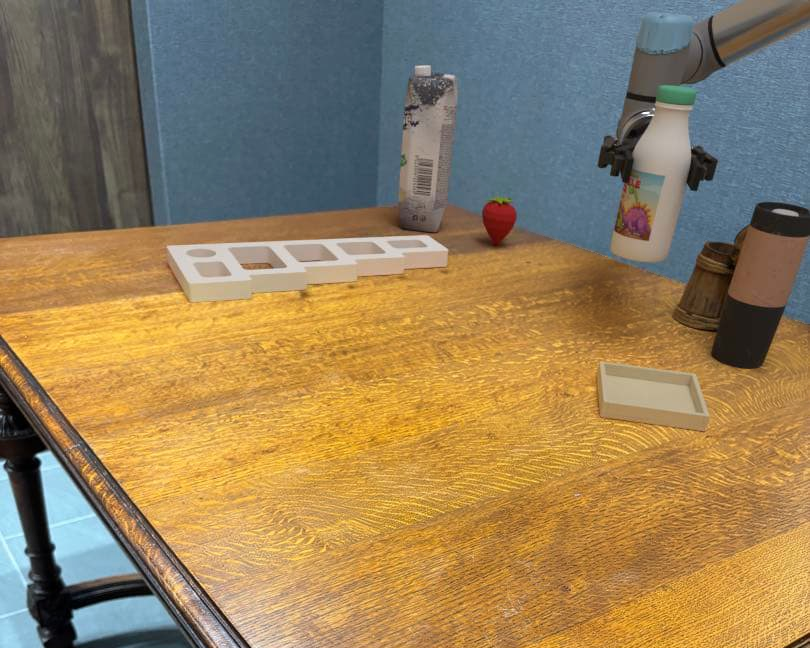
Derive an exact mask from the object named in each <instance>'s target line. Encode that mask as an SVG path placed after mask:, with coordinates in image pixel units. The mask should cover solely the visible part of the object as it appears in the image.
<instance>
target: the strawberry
mask: <svg viewBox="0 0 810 648" xmlns="http://www.w3.org/2000/svg"><path fill="white" fill-rule="evenodd" d="M497 189H498V191H499V193H500V194H502V192H501V190H500V187H498V188H497ZM484 200H485V201H488V202H486V203H485V204H484V205H483V208H482V210H481V218H482V223H483V225H484V229H485V230H486V233H487V235H488V236H489V239H490V240H491V243H492V245H495V246H499V245H500V244H501V243H502V241H504V239H506V237H508V236H509V234H510V232H511V231H512V230H513V228H514V226H515V224H516V221H517V217H518V215H517V210H516V208H515V207H514V205H512V204H511V203H514V200H512V197H506V198H504V197H502V195H500V196H498V195H496V196H495V197H492V198H485V199H484Z"/></svg>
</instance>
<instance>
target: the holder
mask: <svg viewBox="0 0 810 648" xmlns="http://www.w3.org/2000/svg"><path fill="white" fill-rule="evenodd" d="M449 251H450V250H449V249H448V248H447V247H445V246H444V245H442V244H441V243H440V242H438V241H437V240H435V239H434V238H433V237H431V236H429V235H427V234H420V235H419V234H418V235H397V236H395V235H393V236H371V237H369V236H368V237H348V238H347V237H345V238H324V239H323V238H322V239H300V240H298V239H297V240H295V239H294V240H275V241H274V240H273V241H251V242H250V241H249V242H248V241H246V242H226V243H225V242H224V243H222V242H221V243H200V244H176V245H175V244H173V245H166V255H167V265H168V266H169V268H170V270H171V272H172V273H173V275H174V277H175V278H176V280H177V282H178V283H179V285H180V287H181V289H182V291H183V292H184V294H185V296H186V298H187V299H188V301H189V302H190V303H206V302H222V301H236V300H237V301H238V300H250V299H253V294H260V293H261V294H263V293H274V292H276V293H277V292H289V291H290V292H291V291H306V290H307V289H308V285H322V284H337V283H353V282H357V281H358V277H371V276H387V275H390V276H391V275H404V272H405V270H411V269H412V270H413V269H414V270H415V269H428V268H429V269H430V268H431V269H432V268H446V267H448V260H449ZM250 264H251V265H252V264H269V265H270V266H271V267H272V268H260V269H259V268H258V269H257V268H256V269H246V268H244V267H243V266H242V265H250Z"/></svg>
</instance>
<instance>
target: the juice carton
mask: <svg viewBox="0 0 810 648" xmlns="http://www.w3.org/2000/svg"><path fill="white" fill-rule="evenodd" d="M406 87H407V88H406V93H405V99H404V108H403V109H404V111H403V122H402V123H403V125H402V138H401V139H402V140H401V153H400V154H401V155H400V166H399V167H400V170H399V183H398V198H397V199H398V201H397V213H398V221H399V228H400V229H401V230H402V229H403V230H408V231H409V230H410V231H417V232H426V233H437V232H438V231H439V229H440V226H441V223H442V221H443V218H444V216H445V212H446V209H447V204H448V198H449V188H450V178H451V169H452V158H453V149H454V140H455V129H456V128H455V127H456V119H457V108H458V107H457V106H458V77H457V75H455V74H448V73H441V72H432V66H431V65H415V66H414V73H413V75H410V76H409V77H408V82H407V86H406Z"/></svg>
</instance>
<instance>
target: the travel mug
mask: <svg viewBox="0 0 810 648" xmlns="http://www.w3.org/2000/svg"><path fill="white" fill-rule="evenodd" d="M749 224H750V225H749ZM749 224H748V225H749V228H748V231H747V234H746V237H745V240H744V243H743V247H742V250H741V253H740V256H739V259H738V262H737V265H736V268H735V271H734V274H733V278H732V281H731V284H730V287H729V290H728V294H727V297H726V300H725V304H724V308H723V311H722V315H721V318H720V322H719V326H718V329H717V331H716V333H715V336H714V340H713V343H712V347H711V351H710V352H711V353H710V354H711V356H712V358H714V359H715V360H716V361H718V362H720V363H722V364H725V365H727V366H731V367H735V368H741V369H756V368H757V369H758V368H760V367H762V366H763V364H764V363H765V361H766V358H767V355H768V353H769V350H770V348H771V346H772V343H773V340H774V338H775V335H776V332H777V330H778V327H779V325H780V323H781V319H782V317H783V315H784V312H785V310H786V307H787V305H788V303H789V302H788V301H789V299H790V296H791V293H792V290H793V287H794V284H795V282H796V279H797V275H798V273H799V270H800V267H801V264H802V262H803V258H804V256H805V253H806V249H807V246H808V243H809V241H810V209H809V208H808V207H804V206H801V205H797V204H793V203H785V202H778V201H761V202H757V203H756V205H755V207H754V210H753V213H752V216H751V219H750V222H749Z"/></svg>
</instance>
